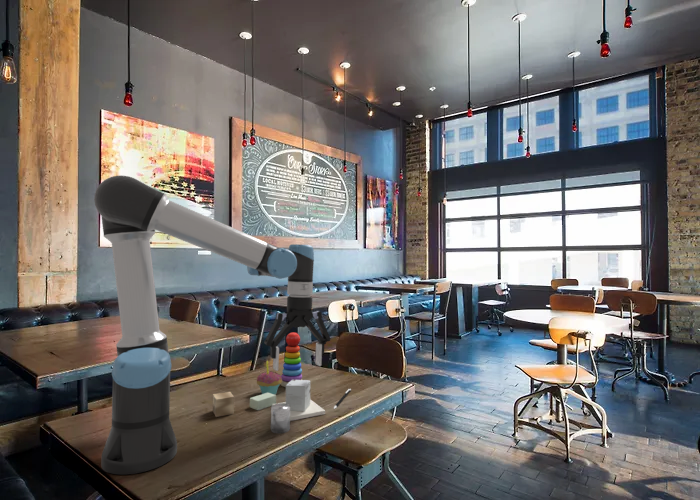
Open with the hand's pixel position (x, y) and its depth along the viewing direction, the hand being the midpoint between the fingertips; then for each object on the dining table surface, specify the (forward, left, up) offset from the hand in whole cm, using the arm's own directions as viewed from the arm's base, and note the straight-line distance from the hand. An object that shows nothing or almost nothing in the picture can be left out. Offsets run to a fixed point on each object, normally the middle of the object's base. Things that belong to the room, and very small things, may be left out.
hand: (297, 367), depth 120 cm
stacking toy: (+7, +24, -13) cm, 28 cm away
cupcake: (-3, +19, -13) cm, 23 cm away
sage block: (-8, +9, -13) cm, 18 cm away
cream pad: (0, 0, -13) cm, 13 cm away
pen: (+17, +3, -14) cm, 22 cm away
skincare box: (0, 0, -12) cm, 12 cm away
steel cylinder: (-9, -10, -13) cm, 19 cm away
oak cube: (-20, +9, -13) cm, 25 cm away
